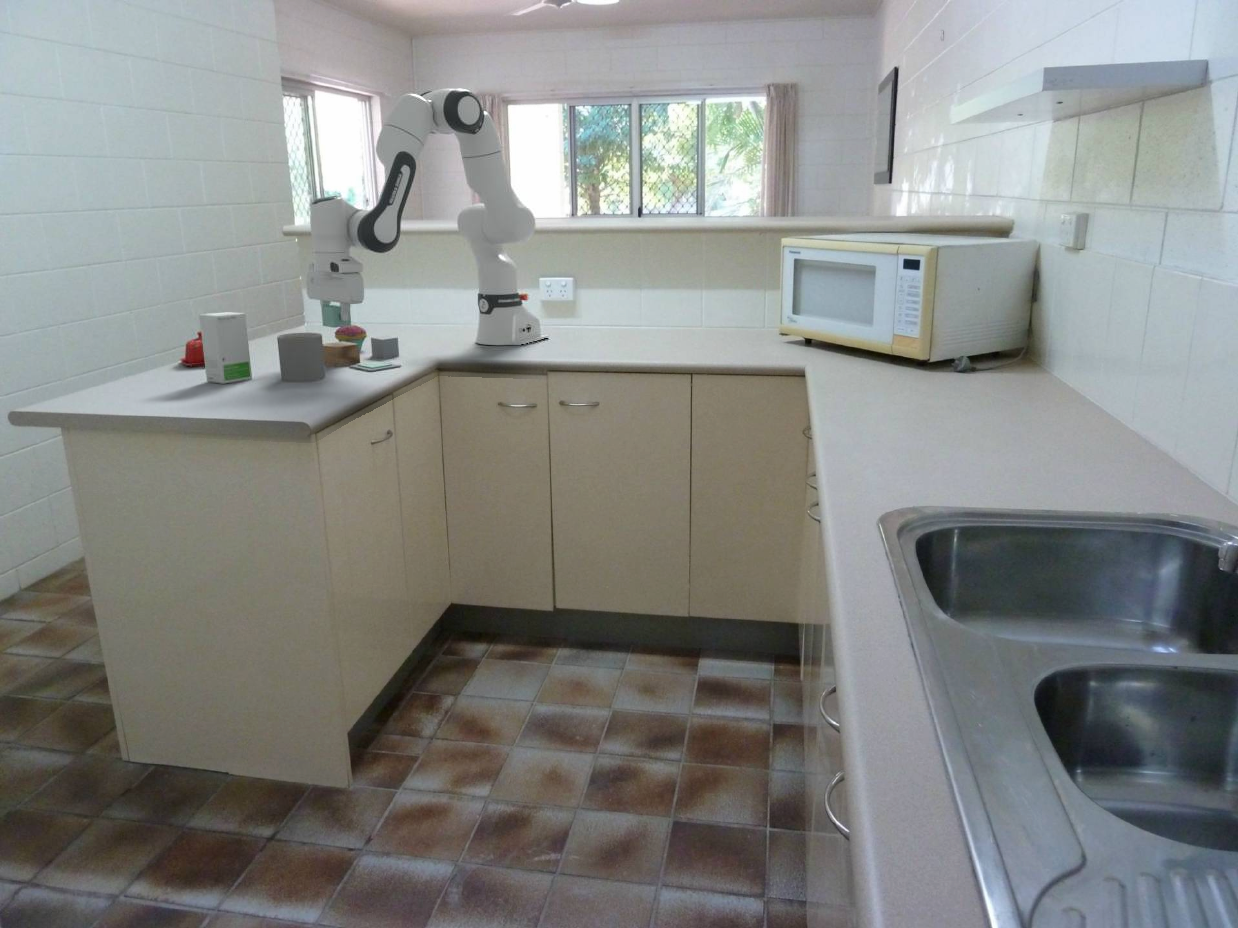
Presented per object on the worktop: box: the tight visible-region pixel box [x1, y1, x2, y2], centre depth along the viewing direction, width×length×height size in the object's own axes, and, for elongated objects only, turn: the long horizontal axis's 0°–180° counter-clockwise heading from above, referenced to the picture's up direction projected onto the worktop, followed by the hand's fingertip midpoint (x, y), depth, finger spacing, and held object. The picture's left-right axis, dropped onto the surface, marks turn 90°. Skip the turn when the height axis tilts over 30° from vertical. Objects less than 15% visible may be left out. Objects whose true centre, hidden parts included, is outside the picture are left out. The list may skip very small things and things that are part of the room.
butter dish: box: [179, 330, 205, 368], centre depth 239 cm, size 12×12×8 cm
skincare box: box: [198, 311, 253, 384], centre depth 216 cm, size 8×7×16 cm
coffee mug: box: [277, 332, 326, 383], centre depth 222 cm, size 13×10×10 cm
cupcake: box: [334, 324, 367, 352], centre depth 257 cm, size 9×8×12 cm
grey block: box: [370, 335, 400, 359], centre depth 250 cm, size 5×5×5 cm
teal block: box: [320, 303, 352, 329], centre depth 237 cm, size 5×5×5 cm
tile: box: [348, 360, 402, 373], centre depth 234 cm, size 9×9×1 cm
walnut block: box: [323, 341, 361, 367], centre depth 240 cm, size 7×7×5 cm
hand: (336, 319), depth 237 cm, fingers closed on teal block, 5 cm apart
